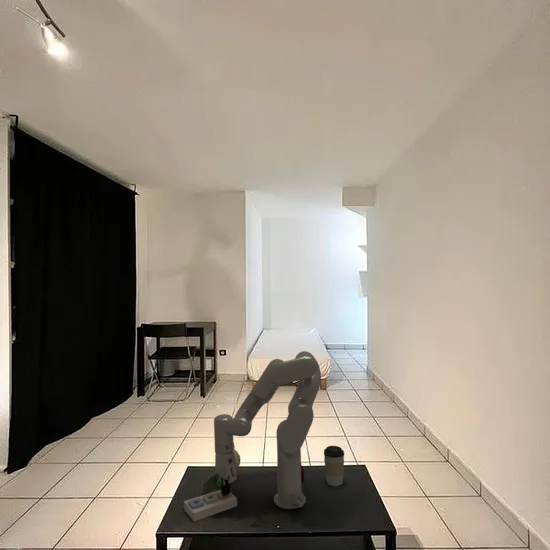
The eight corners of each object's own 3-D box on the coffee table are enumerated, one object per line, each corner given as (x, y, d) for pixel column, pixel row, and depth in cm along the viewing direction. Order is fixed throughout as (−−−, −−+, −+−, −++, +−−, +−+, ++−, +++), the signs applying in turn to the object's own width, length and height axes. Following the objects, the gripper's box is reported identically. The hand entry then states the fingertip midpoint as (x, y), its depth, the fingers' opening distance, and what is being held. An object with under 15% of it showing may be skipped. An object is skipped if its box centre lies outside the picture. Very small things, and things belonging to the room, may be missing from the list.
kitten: (226, 490, 170) (226, 454, 170) (208, 484, 175) (208, 450, 175) (247, 476, 182) (246, 442, 183) (229, 471, 188) (229, 438, 188)
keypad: (237, 506, 157) (237, 498, 157) (193, 521, 147) (193, 513, 147) (225, 495, 166) (225, 488, 166) (183, 509, 156) (183, 501, 156)
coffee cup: (332, 475, 182) (331, 442, 182) (349, 482, 175) (348, 447, 176) (320, 482, 175) (319, 447, 176) (337, 489, 169) (336, 453, 169)
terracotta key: (232, 501, 159) (232, 495, 159) (221, 505, 157) (221, 498, 157) (227, 496, 163) (226, 490, 163) (216, 500, 160) (216, 493, 160)
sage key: (218, 504, 156) (218, 497, 156) (207, 508, 153) (207, 501, 153) (213, 499, 160) (213, 492, 160) (202, 502, 157) (202, 496, 157)
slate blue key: (204, 509, 152) (204, 502, 153) (192, 513, 150) (192, 506, 150) (199, 503, 156) (199, 497, 156) (188, 507, 154) (188, 501, 154)
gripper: (241, 450, 156) (243, 498, 156) (224, 439, 169) (225, 483, 168) (224, 455, 152) (225, 504, 152) (207, 443, 165) (209, 489, 164)
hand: (225, 493), depth 160 cm, fingers closed
